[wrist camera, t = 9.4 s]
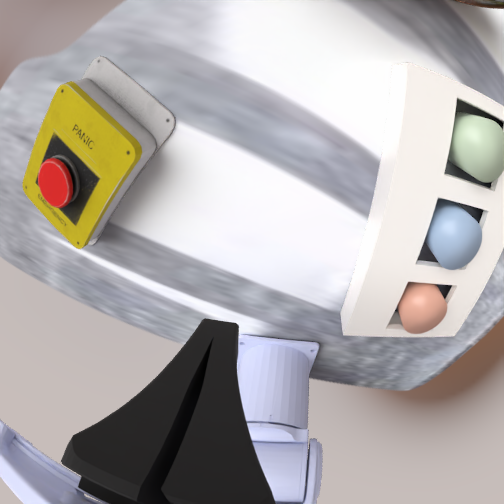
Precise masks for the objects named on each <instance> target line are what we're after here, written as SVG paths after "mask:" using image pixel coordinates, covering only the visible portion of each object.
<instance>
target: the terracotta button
mask: <svg viewBox="0 0 504 504" xmlns="http://www.w3.org/2000/svg"><path fill="white" fill-rule="evenodd" d="M397 310H398V312H399V315H400V318H401V321H402V324H403V327H404V329H405V330H406V331H407V332H408V333H411V334H421V333H424V332H427V331H429V330H431V329H433V328H434V327H436V326H437V325H438V324H439V323H440V322H441V321H442V320H443V319H444V317H445V315H446V313H447V303H446V301H445V299H444V298H443V296H442V294H441V292H440V290H439V288H438V286H437V285H436V284H431V283H419V282H408V283H407V285H406V288H405V290H404V292H403V294H402V296H401V299H400V301H399V303H398V305H397Z"/></svg>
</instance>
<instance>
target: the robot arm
mask: <svg viewBox="0 0 504 504" xmlns="http://www.w3.org/2000/svg"><path fill="white" fill-rule="evenodd" d="M318 350H319V344H318V343H316V342H306V341H294V340H284V339H274V338H265V337H257V336H249V335H239V325H237V324H236V323H232V322H224V321H218V320H211V319H203V320H202V322H201V323H200V325H199V326H198V327H197V329H196V330H195V332H194V333H193V335H192V336H191V337H190V339H189V340H188V341H187V342H186V344H185V345H184V346H183V348H182V349H181V350H180V351H179V352H178V354H177V355H176V356H175V357H174V358H173V360H172V361H171V362H170V363H169V364H168V365H167V366H166V367H165V368H164V369H163V371H162V372H161V373H160V374H159V375H158V376H157V377H156V378H155V379H154V380H153V381H152V382H151V383H150V384H149V385H147V386H146V387H145V388H144V389H143V390H142V391H141V392H140V393H139V394H137V395H136V396H135V397H134V398H132V399H131V400H130V401H129V402H127V403H126V404H125V405H123V406H122V407H121V408H119V409H118V410H116V411H115V412H113V413H112V414H110V415H109V416H107V417H106V418H104V419H103V420H101V421H100V422H98V423H96V424H94V425H92V426H91V427H89V428H87V429H85V430H83V431H81V432H79V433H77V434H75V435H73V437H72V439H71V440H70V442H69V444H68V445H67V448H66V450H65V453H64V455H63V458H62V460H61V462H62V464H63V465H64V466H66V467H68V468H69V469H71V470H72V471H74V472H76V473H77V474H79V475H81V477H80V476H79V475H77V474H75V473H73V472H72V471H70V470H68V469H67V468H65V467H63V466H62V465H60V464H59V463H57V462H56V461H54V460H52V459H51V458H49V457H48V456H46V455H45V454H44V453H42V452H41V451H39V450H38V449H37V448H35V447H34V446H33V445H32V443H30V442H29V441H28V440H26V439H25V438H24V437H22V436H21V435H20V434H19V433H17V432H16V431H14V430H13V429H11V428H10V427H9V426H7V425H6V424H5V423H4V422H2V421H1V420H0V477H1V478H2V479H3V481H4V482H5V483H6V484H7V485H8V487H9V488H10V489H11V490H12V491H13V492H14V493H15V495H16V496H17V497H18V498H19V499H20V500H21V501H22V502H23V503H24V504H316V502H317V498H318V496H319V492H320V486H321V477H322V445H321V444H320V443H319V442H317V439H315V438H314V439H310V444H309V449H308V431H309V430H308V429H307V427H308V396H309V373H310V371H311V368H312V366H313V363H314V360H315V358H316V355H317V352H318ZM307 453H308V460H307ZM305 483H306V485H305ZM84 493H85V494H87V495H89V496H90V497H92V498H95V499H96V500H98V501H96V500H93V499H91V498H88V497H85V496H84ZM99 501H100V502H99ZM101 502H102V503H101Z"/></svg>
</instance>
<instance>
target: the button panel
mask: <svg viewBox="0 0 504 504" xmlns="http://www.w3.org/2000/svg"><path fill="white" fill-rule="evenodd" d="M457 99H459V100H461V101H463V102H466V103H468V104H470V105H472V106H474V107H476V108H478V109H480V110H482V111H484V112H486V113H488V114H490V115H492V116H493V117H495V118H497V119H499V120H501V121H502V122H504V106H502V105H501V104H499V103H497V102H496V101H494V100H492V99H490V98H489V97H487V96H485V95H483V94H481V93H479V92H477V91H476V90H474V89H472V88H470V87H468V86H466V85H463V84H461V83H459V82H457V81H455V80H453V79H450V78H448V77H446V76H443V75H441V74H439V73H436V72H434V71H431V70H428V69H426V68H423V67H420V66H418V65H415V64H412V63H409V62H406V63H402V64H397V65H392V73H391V86H390V96H389V106H388V114H387V122H386V129H385V136H384V143H383V149H382V155H381V161H380V166H379V171H378V177H377V182H376V186H375V191H374V196H373V200H372V205H371V209H370V213H369V218H368V222H367V226H366V230H365V233H364V237H363V241H362V245H361V248H360V252H359V255H358V259H357V262H356V266H355V269H354V272H353V276H352V279H351V282H350V285H349V288H348V291H347V294H346V298H345V300H344V303H343V306H342V309H341V312H340V315H341V322H342V330H343V335H348V336H372V337H447V336H455V335H456V333H457V332H458V330H459V329H460V327H461V326H462V324H463V323H464V321H465V320H466V318H467V316H468V315H469V313H470V312H471V310H472V308H473V307H474V305H475V303H476V302H477V300H478V298H479V296H480V295H481V293H482V291H483V289H484V287H485V285H486V284H487V282H488V280H489V278H490V276H491V274H492V272H493V270H494V268H495V266H496V264H497V261H498V259H499V257H500V255H501V253H502V250H503V248H504V171H503V172H502V174H501V175H500V176H499V177H498V178H497V179H496V180H494V181H492V184H491V188H488V187H485V186H482V185H479V184H477V183H474V182H471V181H468V180H465V179H461V178H458V177H455V176H452V175H449V174H445V173H444V172H445V168H446V163H447V159H448V154H449V149H450V143H451V138H452V132H453V125H454V118H455V111H456V102H457ZM503 131H504V124H503ZM438 197H439V198H443V199H447V200H451V201H455V202H458V203H462V204H466V205H469V206H473V207H476V208H480V209H483V210H484V211H483V214H482V217H481V220H480V222H479V225H480V227H481V229H482V242H481V246H480V248H479V251H478V252H477V254H476V256H475V257H474V258H473V259H472V260H471V261H470V262H469V263H468V264H467V265H465V266H464V267H462V268H459V269H456V270H448V269H445V268H444V267H442V266H441V265H440V263H437V262H429V261H421V260H417V259H418V256H419V253H420V251H421V248H422V245H423V243H424V240H425V237H426V234H427V231H428V228H429V225H430V222H431V219H432V216H433V213H434V209H435V206H436V203H437V199H438ZM408 282H419V283H431V284H443V285H452V287H451V289H450V291H449V293H448V295H447V297H446V299H445V301H446V303H447V313H446V315H445V317H444V319H443V320H442V321H441V322H440V323H439V324H438V325H437V326H436V327H434V328H433V329H431V330H429V331H427V332H424V333H421V334H411V333H408V332H407V331H406V330H405V329H404V327H403V324H402V321H401V318H400V315H399V312H394V311H395V309H396V307H397V305H398V303H399V301H400V299H401V296H402V294H403V292H404V290H405V288H406V285H407V283H408Z"/></svg>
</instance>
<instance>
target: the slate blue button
mask: <svg viewBox="0 0 504 504" xmlns="http://www.w3.org/2000/svg"><path fill="white" fill-rule="evenodd" d="M424 241H425V243H426V244H427V246H428V247H429V249H430V250H431V251H432V253H433V254H434V256H435V257H436V259H437V260H438V262H439V263H440V265H441V266H442V267H444V268H445V269H448V270H456V269H459V268H462V267H464V266H465V265H467V264H468V263H469V262H470V261H471V260H472V259H473V258H474V257H475V256H476V254H477V252H478V251H479V248H480V246H481V242H482V229H481V227H480V225H479V223H478V222H477V221H476V220H475V219H474V218H473V217H472V216H471V215H470V214H469V213H467V212H466V211H465V210H464V209H463V208H462V207H461V206H460V205H459V204H457V203H456V202H455V201H451V200H447V199H443V198H440V199H437V203H436V206H435V209H434V213H433V216H432V219H431V222H430V225H429V228H428V231H427V234H426V237H425V240H424Z"/></svg>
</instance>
